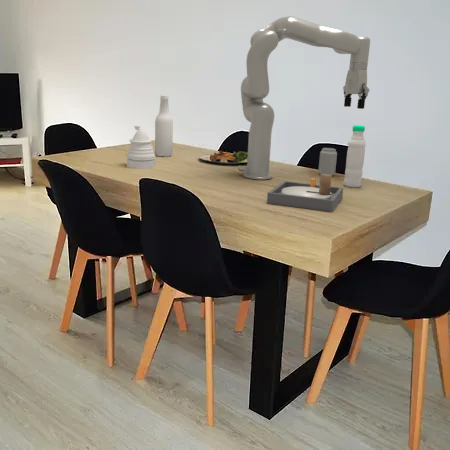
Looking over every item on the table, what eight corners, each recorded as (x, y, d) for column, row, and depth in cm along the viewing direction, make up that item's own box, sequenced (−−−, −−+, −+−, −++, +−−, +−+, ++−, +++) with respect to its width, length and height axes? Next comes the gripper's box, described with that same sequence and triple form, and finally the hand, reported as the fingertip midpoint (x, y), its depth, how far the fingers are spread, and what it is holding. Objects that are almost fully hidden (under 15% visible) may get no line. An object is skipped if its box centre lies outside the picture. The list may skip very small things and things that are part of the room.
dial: (275, 197, 196) (277, 174, 193) (288, 188, 212) (289, 166, 209) (326, 204, 190) (328, 180, 187) (335, 193, 206) (337, 171, 204)
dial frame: (266, 203, 195) (268, 186, 193) (283, 190, 216) (284, 175, 214) (331, 211, 187) (333, 194, 185) (342, 197, 208) (344, 181, 207)
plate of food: (266, 162, 274) (266, 150, 273) (229, 168, 254) (230, 155, 253) (224, 156, 292) (224, 145, 291) (187, 161, 272) (187, 149, 271)
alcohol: (171, 157, 276) (172, 96, 268) (153, 156, 276) (154, 95, 268) (173, 154, 285) (174, 95, 276) (156, 153, 285) (156, 94, 276)
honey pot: (121, 166, 248) (120, 126, 242) (136, 162, 259) (136, 123, 254) (146, 169, 243) (146, 128, 238) (160, 165, 255) (160, 126, 249)
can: (334, 177, 246) (337, 150, 242) (317, 175, 247) (320, 149, 244) (334, 174, 253) (337, 148, 249) (318, 172, 254) (320, 146, 251)
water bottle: (351, 188, 224) (358, 126, 217) (340, 184, 230) (346, 124, 223) (364, 187, 228) (371, 126, 221) (353, 183, 234) (359, 124, 226)
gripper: (339, 66, 243) (335, 105, 248) (363, 67, 228) (358, 109, 233) (353, 66, 246) (349, 105, 251) (378, 68, 231) (373, 109, 236)
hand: (353, 107), depth 242 cm, fingers open, 9 cm apart
